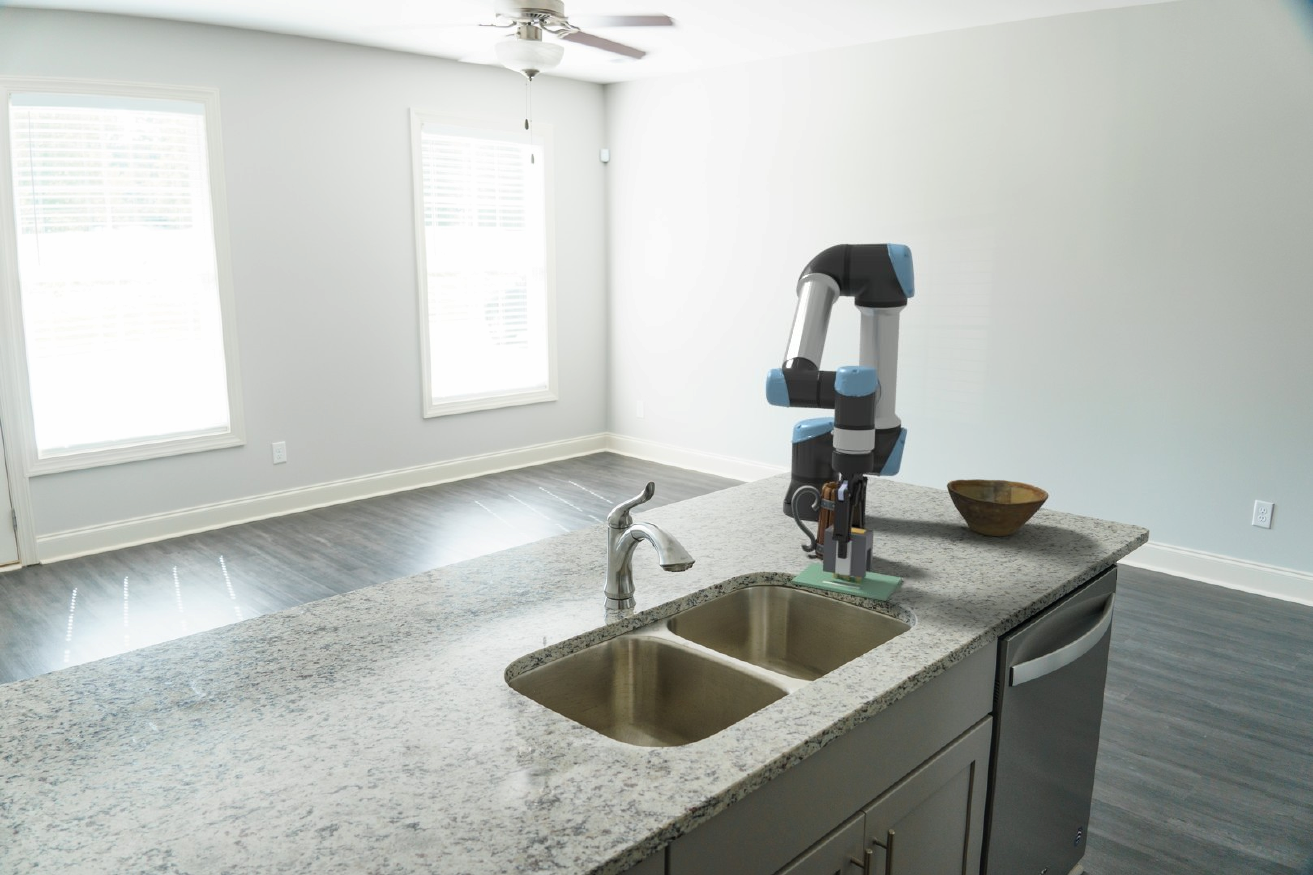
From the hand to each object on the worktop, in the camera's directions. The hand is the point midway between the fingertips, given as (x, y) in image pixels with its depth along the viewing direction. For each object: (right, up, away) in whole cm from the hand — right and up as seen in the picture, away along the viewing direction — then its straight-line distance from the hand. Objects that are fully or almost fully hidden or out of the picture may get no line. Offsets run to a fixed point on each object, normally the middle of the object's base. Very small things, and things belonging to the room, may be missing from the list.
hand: (847, 569), depth 169 cm
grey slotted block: (0, 0, 0) cm, 0 cm away
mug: (-1, 0, +16) cm, 16 cm away
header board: (0, -3, +1) cm, 3 cm away
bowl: (+41, +3, +34) cm, 54 cm away
